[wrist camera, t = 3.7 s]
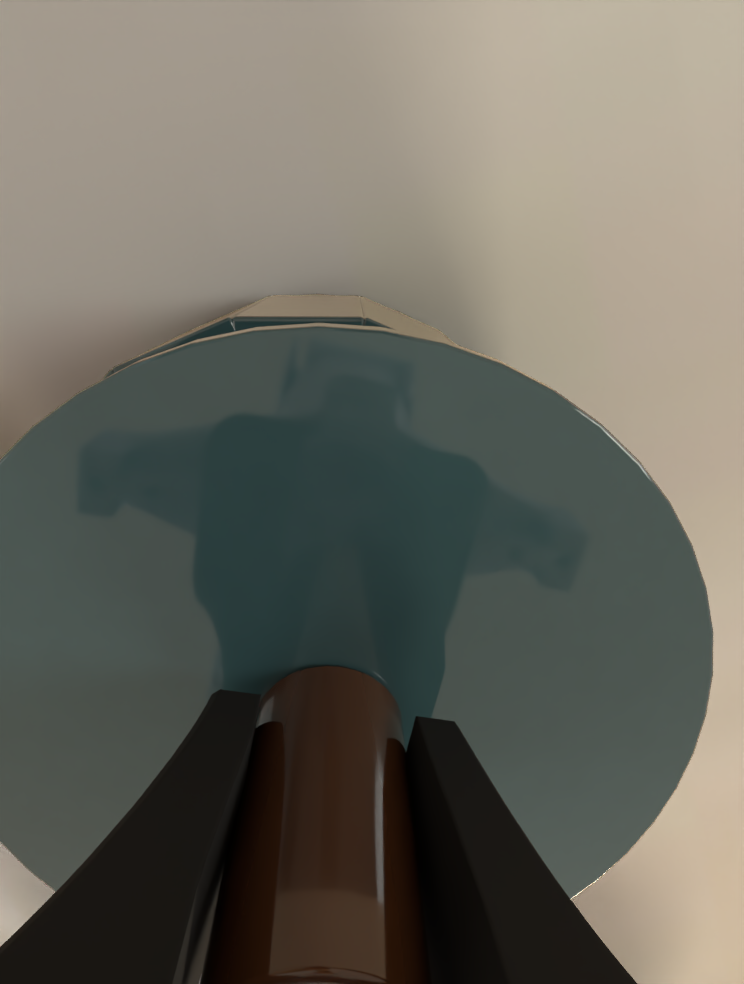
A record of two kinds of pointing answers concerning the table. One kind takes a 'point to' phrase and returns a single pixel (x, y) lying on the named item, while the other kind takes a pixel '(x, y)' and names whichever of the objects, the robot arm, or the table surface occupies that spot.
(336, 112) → the table surface
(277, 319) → the pot
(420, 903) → the pot lid
